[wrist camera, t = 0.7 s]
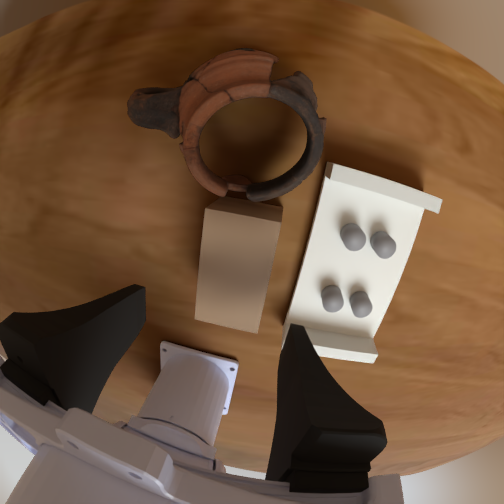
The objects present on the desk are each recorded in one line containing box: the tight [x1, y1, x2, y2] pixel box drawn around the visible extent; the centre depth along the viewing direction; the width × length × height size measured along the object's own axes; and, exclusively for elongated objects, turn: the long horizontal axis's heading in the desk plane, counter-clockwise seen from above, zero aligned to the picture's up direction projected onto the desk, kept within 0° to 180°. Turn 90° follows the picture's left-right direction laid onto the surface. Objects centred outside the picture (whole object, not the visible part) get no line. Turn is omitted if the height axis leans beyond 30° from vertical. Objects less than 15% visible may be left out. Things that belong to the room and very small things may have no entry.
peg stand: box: [281, 162, 442, 363], centre depth 19 cm, size 14×8×3 cm, turn 169°
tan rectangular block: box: [195, 196, 283, 333], centre depth 20 cm, size 8×4×4 cm, turn 171°
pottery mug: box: [127, 48, 326, 202], centre depth 16 cm, size 12×10×8 cm
